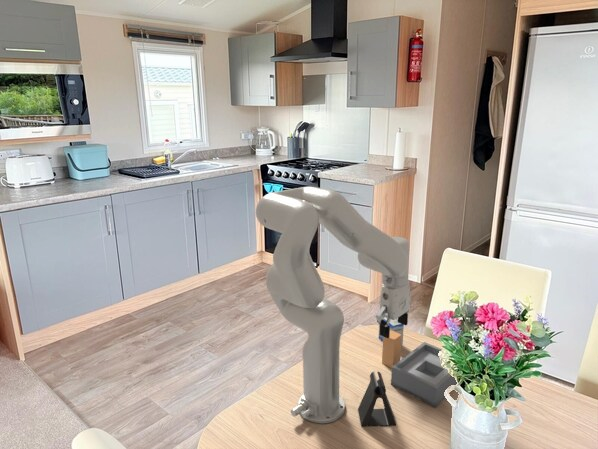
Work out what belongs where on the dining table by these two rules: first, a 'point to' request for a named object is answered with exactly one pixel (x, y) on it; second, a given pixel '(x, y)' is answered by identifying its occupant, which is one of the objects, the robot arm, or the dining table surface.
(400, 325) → the medicine box
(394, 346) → the peg
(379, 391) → the black triangular stand
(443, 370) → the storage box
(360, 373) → the dining table surface
